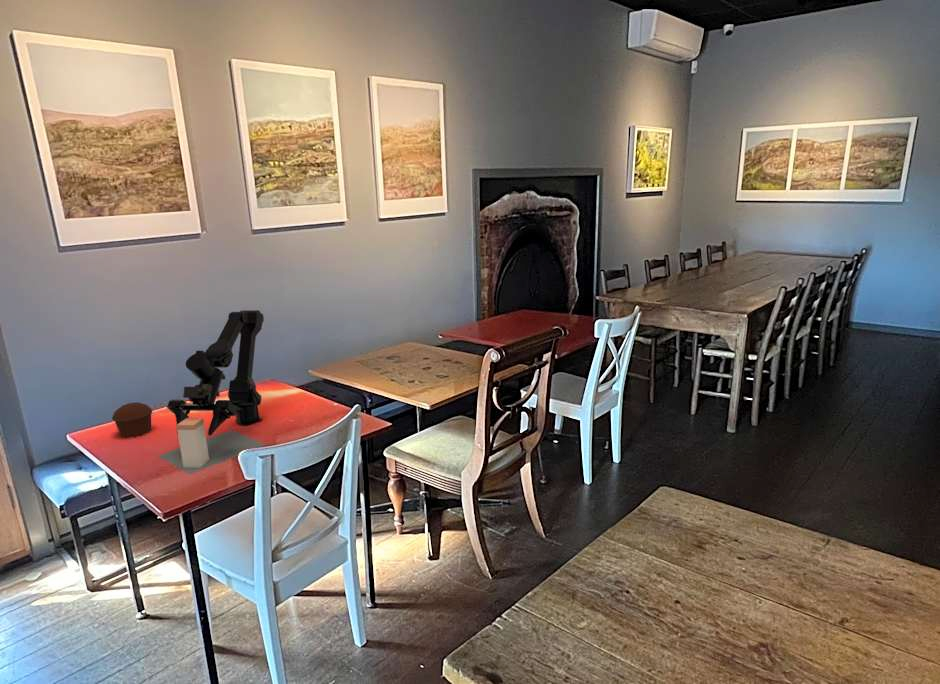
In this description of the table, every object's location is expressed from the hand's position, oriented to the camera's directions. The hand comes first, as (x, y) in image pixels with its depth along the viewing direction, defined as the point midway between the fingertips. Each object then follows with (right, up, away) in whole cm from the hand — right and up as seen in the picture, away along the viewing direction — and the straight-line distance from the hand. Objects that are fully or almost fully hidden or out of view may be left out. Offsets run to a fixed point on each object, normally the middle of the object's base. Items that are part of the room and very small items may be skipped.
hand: (193, 434), depth 167 cm
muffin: (-32, -4, +26) cm, 41 cm away
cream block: (0, -8, +1) cm, 9 cm away
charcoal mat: (+1, -7, +10) cm, 12 cm away
